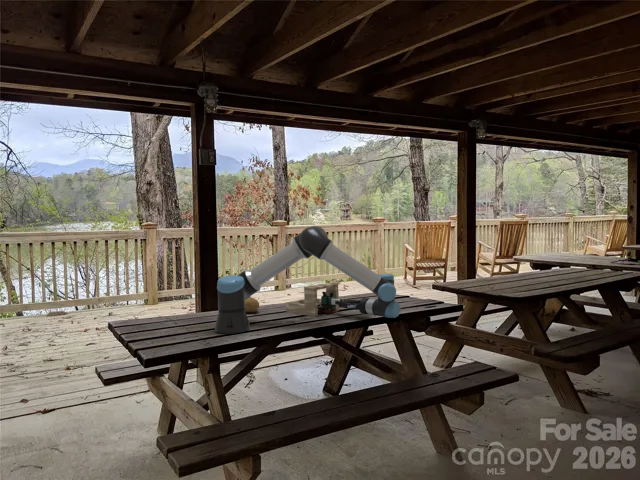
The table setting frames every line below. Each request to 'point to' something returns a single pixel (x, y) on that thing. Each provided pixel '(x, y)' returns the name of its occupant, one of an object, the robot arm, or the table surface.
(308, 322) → the table surface
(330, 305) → the binoculars
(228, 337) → the table surface
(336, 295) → the tunnel
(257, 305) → the potato
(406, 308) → the table surface
